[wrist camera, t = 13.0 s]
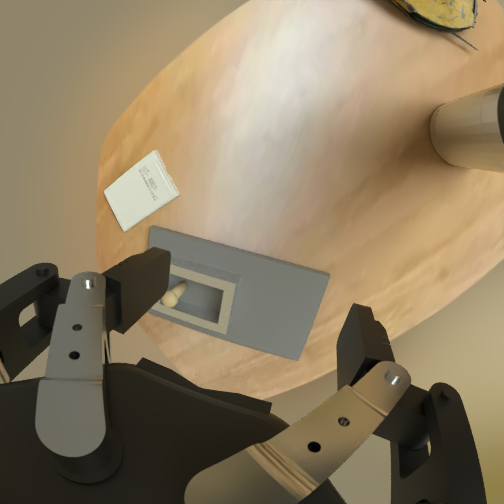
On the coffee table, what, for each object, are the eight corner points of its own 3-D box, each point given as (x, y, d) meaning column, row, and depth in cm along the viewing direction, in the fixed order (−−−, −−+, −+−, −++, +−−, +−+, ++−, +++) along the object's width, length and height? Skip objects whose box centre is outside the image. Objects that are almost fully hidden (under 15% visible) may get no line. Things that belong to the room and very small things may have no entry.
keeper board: (329, 273, 40) (331, 297, 33) (298, 356, 46) (294, 386, 39) (154, 225, 44) (127, 238, 37) (149, 308, 49) (127, 329, 43)
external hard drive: (108, 189, 44) (158, 149, 40) (129, 229, 46) (182, 194, 42) (102, 191, 43) (153, 149, 39) (123, 232, 44) (177, 195, 40)
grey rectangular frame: (241, 275, 42) (235, 284, 39) (231, 324, 45) (225, 334, 42) (163, 252, 43) (153, 258, 41) (160, 300, 47) (151, 308, 44)
